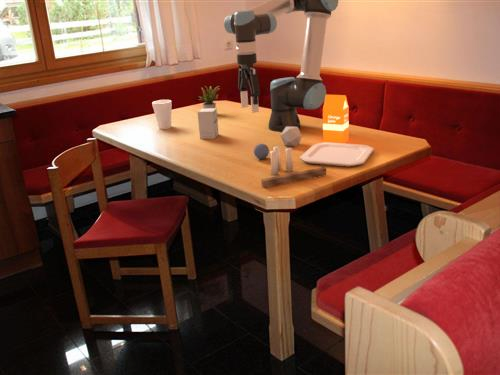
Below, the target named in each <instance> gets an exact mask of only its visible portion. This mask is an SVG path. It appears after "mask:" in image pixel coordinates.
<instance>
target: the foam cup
mask: <svg viewBox="0 0 500 375" xmlns="http://www.w3.org/2000/svg"><path fill="white" fill-rule="evenodd" d="M151 104H152V108H153V112H154V115H155V119H156V122H157V127H158V129H159V130H166V129H167V130H168V129H170V128H171V127H172V110H173V109H172V100H171V99H159V100H154V101H152V103H151Z"/></svg>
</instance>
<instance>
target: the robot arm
mask: <svg viewBox="0 0 500 375" xmlns="http://www.w3.org/2000/svg"><path fill="white" fill-rule="evenodd" d="M338 6H339V0H265V1H264V2H262V3H260V4H257V5H256V6H253V7H250V8H249V9H246V10H238V11H235V13H234V14H233V13H232V14H228V15H226V17H225V18H224V21H223V27H224V29H225V31H226V32H227V33H228V34H232V35H235V42H236V44H235V48H236V53H237V54H236V62H237V64H238V77H237V78H238V79H237V89H238V90H239V91H240V102H241V103H240V105H241V108H248V107H249V98H248V96H249V97H250V105H251V113H252V114H254V113H255V114H256V113H260V111H259V110H260V109H259V96H260V95H261V88H260V84H259V77H258V69H257V68H254V64H256V63H257V61H258V60H257V53H256V52H257V40H256V36H261V35H268V34H271V33H274V31H276V28H277V25H278V24H277V23H278V22H277V18H276V17H279V16H281V15H283V14H285V15H286V14H291V13H294V12H303V13H304V15H305V17H306V24H305V25H306V26H305V33H304V40H303V50H302V58H301V66H300V73H299V74H298V75H297V76H296V78H295V77H293V76H290V77H283V78H282V77H281V78H277V79H273V80H272V81H271V82H270V86H269V87H270V89H269V91H270V92H269V93H270V106H271V112H270V116H269V120H268V129H269V130H271V131H276V132H283V130H284V129H285V127H298V129H300V128H301V120H300V117H299V115H298V112H297V109H305V110H316V109H319V108H320V107H321V106H322V105H324V101H325V96H326V95H327V89H326V85H324V84H323V79H322V78H321V76H320V74H321V66H322V59H323V52H324V51H323V50H324V44H325V34H326V29H327V22H328V20H329V19H330V18H331V17H332V12H334V11H335V10H336V9H337V7H338ZM248 86H249V90H250V95H249V94H248Z"/></svg>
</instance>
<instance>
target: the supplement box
mask: <svg viewBox="0 0 500 375" xmlns="http://www.w3.org/2000/svg"><path fill="white" fill-rule="evenodd" d="M217 111H218V109H217V107H216V108H206V109H204V108H201V109H199V110H198V111H197V121H198V131H199V139H204V140H205V139H206V140H207V139H208V140H209V139H211V140H215V139H216V137H218V135H219V122H218V112H217Z"/></svg>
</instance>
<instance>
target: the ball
mask: <svg viewBox="0 0 500 375" xmlns="http://www.w3.org/2000/svg"><path fill="white" fill-rule="evenodd" d="M269 148H270V147H268V146H267V145H266V144H265V143H258V144H256V145H255V146H254V149H253V154H254V156H255V157H256V158H257V159H259V160H264V159H266V158H268V156H269V153H270V149H269Z"/></svg>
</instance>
